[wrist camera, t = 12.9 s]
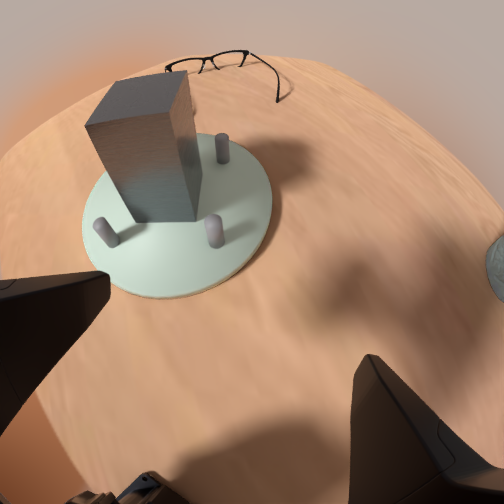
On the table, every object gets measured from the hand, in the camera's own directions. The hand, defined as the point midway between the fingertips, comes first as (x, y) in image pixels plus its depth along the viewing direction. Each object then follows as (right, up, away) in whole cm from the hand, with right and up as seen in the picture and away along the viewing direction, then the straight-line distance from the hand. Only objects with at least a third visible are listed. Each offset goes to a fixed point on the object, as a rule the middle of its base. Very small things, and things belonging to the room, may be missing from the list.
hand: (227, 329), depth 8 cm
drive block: (-7, +8, +18) cm, 21 cm away
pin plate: (-7, +7, +19) cm, 21 cm away
